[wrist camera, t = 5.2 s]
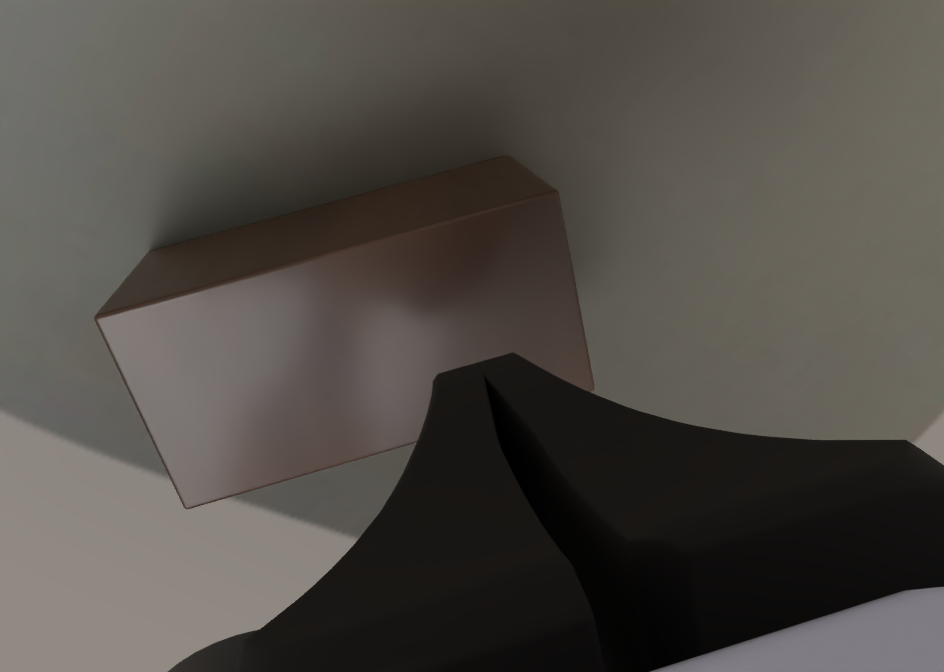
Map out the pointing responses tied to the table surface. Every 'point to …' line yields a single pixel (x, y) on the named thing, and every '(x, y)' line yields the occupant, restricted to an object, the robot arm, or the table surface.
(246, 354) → the brown wooden block
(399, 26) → the table surface
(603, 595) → the robot arm
